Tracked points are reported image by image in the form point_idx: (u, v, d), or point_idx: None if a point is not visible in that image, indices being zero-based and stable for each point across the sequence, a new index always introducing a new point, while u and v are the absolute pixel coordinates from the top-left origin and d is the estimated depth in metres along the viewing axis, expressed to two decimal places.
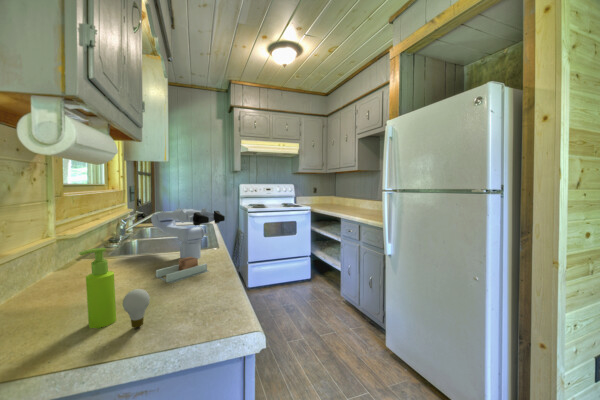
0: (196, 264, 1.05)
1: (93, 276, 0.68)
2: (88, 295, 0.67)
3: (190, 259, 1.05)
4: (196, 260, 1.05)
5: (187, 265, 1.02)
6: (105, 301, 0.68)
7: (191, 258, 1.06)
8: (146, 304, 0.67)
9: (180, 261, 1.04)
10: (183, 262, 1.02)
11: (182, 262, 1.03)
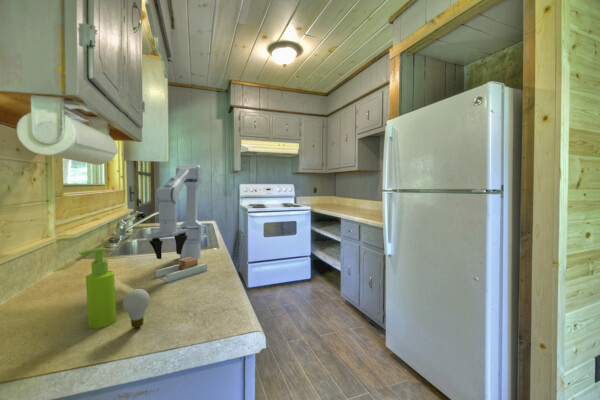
0: (196, 264, 1.05)
1: (93, 276, 0.68)
2: (88, 295, 0.67)
3: (190, 259, 1.05)
4: (196, 260, 1.05)
5: (187, 265, 1.02)
6: (105, 301, 0.68)
7: (191, 258, 1.06)
8: (146, 304, 0.67)
9: (180, 261, 1.04)
10: (183, 262, 1.02)
11: (182, 262, 1.03)
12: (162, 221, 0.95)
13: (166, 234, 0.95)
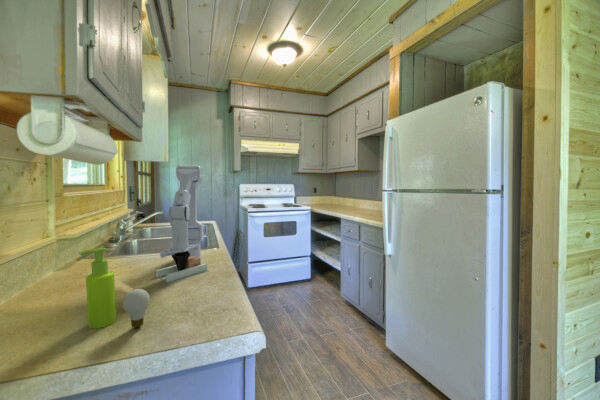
0: (199, 263, 1.06)
1: (93, 276, 0.68)
2: (88, 295, 0.67)
3: (193, 258, 1.06)
4: (199, 259, 1.06)
5: (190, 264, 1.03)
6: (105, 301, 0.68)
7: (194, 257, 1.07)
8: (146, 304, 0.67)
9: None
10: None
11: None
12: (175, 238, 0.99)
13: (178, 251, 0.99)
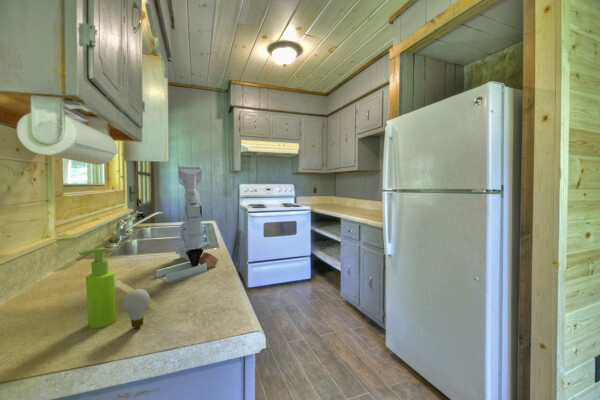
0: (215, 263, 1.12)
1: (93, 276, 0.68)
2: (88, 295, 0.67)
3: None
4: (217, 260, 1.13)
5: (209, 257, 1.10)
6: (105, 301, 0.68)
7: None
8: (146, 304, 0.67)
9: (204, 253, 1.13)
10: (208, 254, 1.11)
11: (206, 254, 1.12)
12: (189, 236, 1.04)
13: (193, 247, 1.04)
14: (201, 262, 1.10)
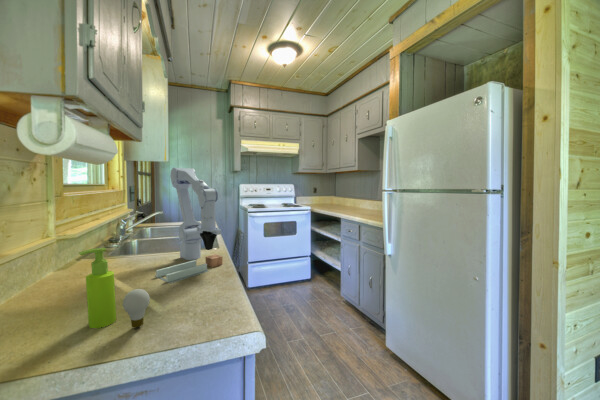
0: None
1: (93, 276, 0.68)
2: (88, 295, 0.67)
3: None
4: None
5: (219, 258, 1.14)
6: (105, 301, 0.68)
7: None
8: (146, 304, 0.67)
9: (216, 255, 1.17)
10: (219, 256, 1.15)
11: (217, 255, 1.16)
12: None
13: (200, 229, 1.11)
14: (210, 257, 1.13)
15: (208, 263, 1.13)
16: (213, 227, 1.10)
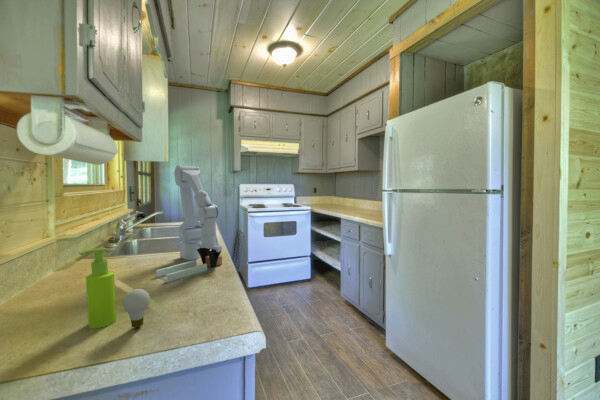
0: None
1: (93, 276, 0.68)
2: (88, 295, 0.67)
3: None
4: None
5: (219, 258, 1.14)
6: (105, 301, 0.68)
7: None
8: (146, 304, 0.67)
9: None
10: (219, 255, 1.15)
11: None
12: None
13: None
14: None
15: (208, 263, 1.13)
16: (213, 244, 1.11)
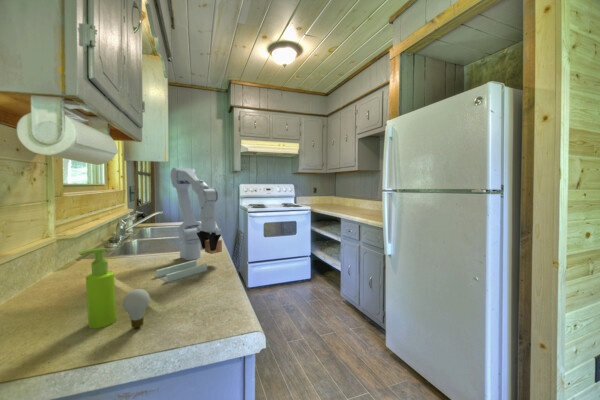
0: (217, 251, 1.13)
1: (93, 276, 0.68)
2: (88, 295, 0.67)
3: None
4: (220, 250, 1.14)
5: (218, 242, 1.13)
6: (105, 301, 0.68)
7: None
8: (146, 304, 0.67)
9: None
10: None
11: None
12: None
13: (200, 229, 1.11)
14: None
15: (207, 246, 1.12)
16: (213, 227, 1.10)
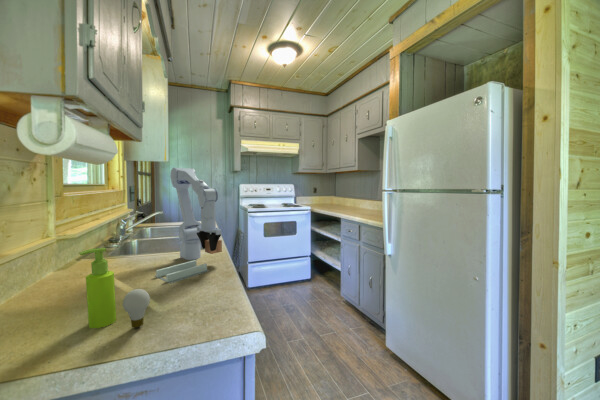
0: (217, 251, 1.13)
1: (93, 276, 0.68)
2: (88, 295, 0.67)
3: None
4: (220, 250, 1.14)
5: (218, 242, 1.13)
6: (105, 301, 0.68)
7: None
8: (146, 304, 0.67)
9: None
10: None
11: None
12: None
13: (200, 229, 1.11)
14: None
15: (207, 246, 1.12)
16: (213, 227, 1.10)
